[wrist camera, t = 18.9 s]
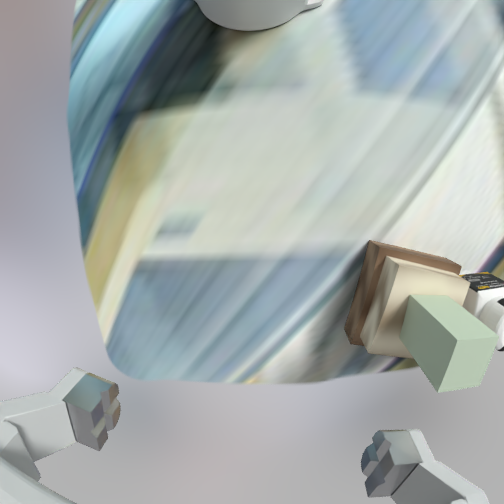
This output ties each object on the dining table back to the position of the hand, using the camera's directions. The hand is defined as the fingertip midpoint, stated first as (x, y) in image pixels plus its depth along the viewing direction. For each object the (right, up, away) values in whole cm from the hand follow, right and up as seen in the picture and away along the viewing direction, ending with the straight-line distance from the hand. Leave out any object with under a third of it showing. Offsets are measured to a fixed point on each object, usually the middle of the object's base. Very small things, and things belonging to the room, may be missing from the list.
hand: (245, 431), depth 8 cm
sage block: (+19, -2, +21) cm, 28 cm away
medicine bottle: (+31, -1, +28) cm, 42 cm away
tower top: (+19, -1, +25) cm, 31 cm away
